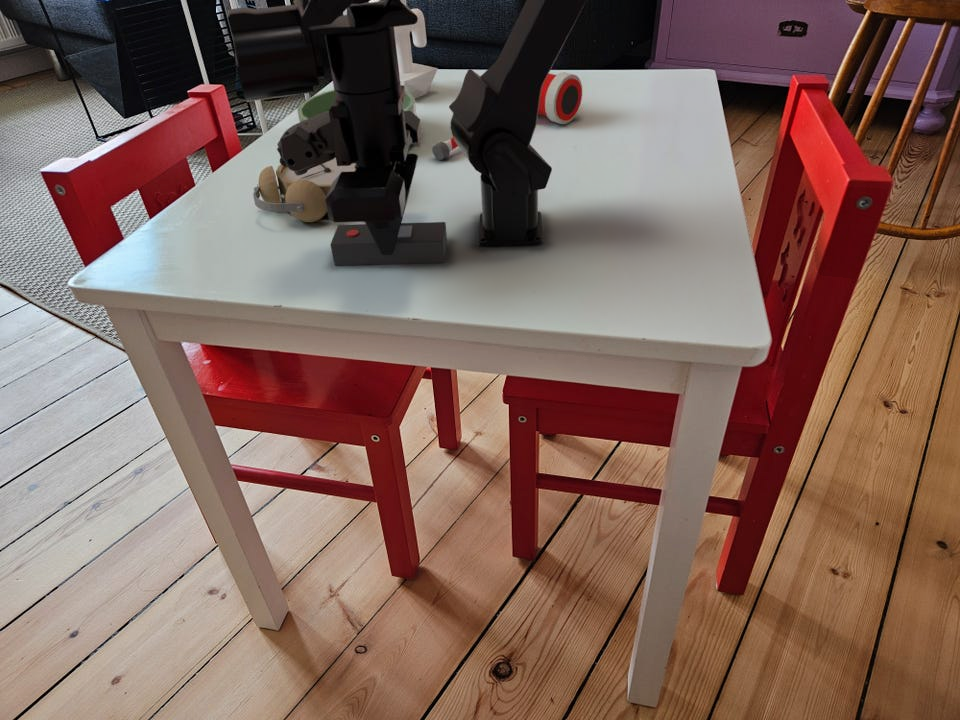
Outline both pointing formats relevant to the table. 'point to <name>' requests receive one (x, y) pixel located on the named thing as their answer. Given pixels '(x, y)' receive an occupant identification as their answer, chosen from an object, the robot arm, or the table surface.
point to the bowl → (326, 99)
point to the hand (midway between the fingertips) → (390, 243)
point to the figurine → (409, 72)
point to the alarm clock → (298, 190)
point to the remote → (410, 246)
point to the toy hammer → (542, 105)
